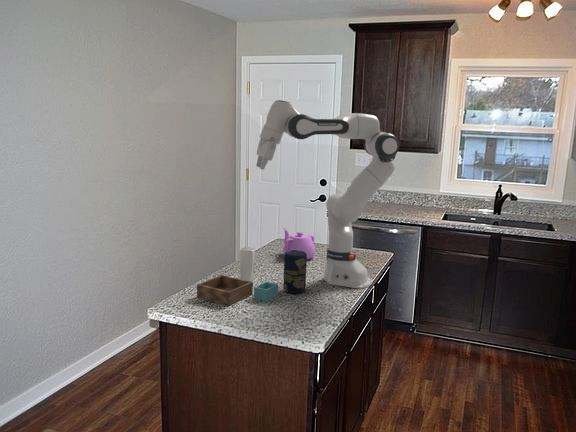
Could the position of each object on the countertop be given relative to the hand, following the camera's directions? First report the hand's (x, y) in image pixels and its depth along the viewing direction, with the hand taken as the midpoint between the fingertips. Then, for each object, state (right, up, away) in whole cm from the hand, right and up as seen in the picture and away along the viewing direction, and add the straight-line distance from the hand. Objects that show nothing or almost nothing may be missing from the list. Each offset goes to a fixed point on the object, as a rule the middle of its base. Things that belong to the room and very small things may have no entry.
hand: (259, 167), depth 213 cm
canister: (+15, -53, -1) cm, 55 cm away
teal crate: (+3, -54, -9) cm, 55 cm away
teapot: (+16, -42, +54) cm, 71 cm away
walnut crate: (-14, -53, -10) cm, 56 cm away
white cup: (-7, -50, +10) cm, 51 cm away
